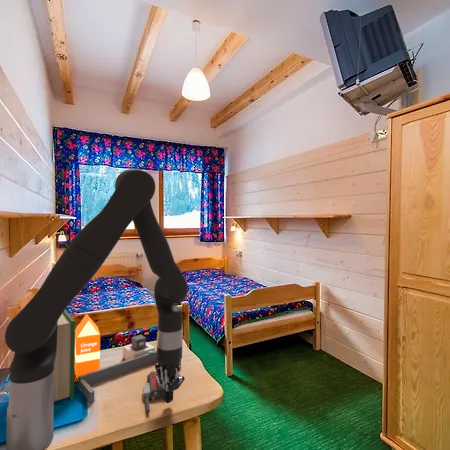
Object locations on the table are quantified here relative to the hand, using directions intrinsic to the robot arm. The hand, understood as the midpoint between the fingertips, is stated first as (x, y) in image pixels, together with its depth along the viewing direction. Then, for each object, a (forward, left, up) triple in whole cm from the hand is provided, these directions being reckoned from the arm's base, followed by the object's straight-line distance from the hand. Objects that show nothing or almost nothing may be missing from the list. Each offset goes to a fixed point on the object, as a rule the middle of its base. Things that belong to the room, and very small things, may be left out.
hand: (168, 401), depth 88 cm
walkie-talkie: (+1, +8, -2) cm, 8 cm away
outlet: (+8, +33, -2) cm, 34 cm away
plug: (+8, +33, -1) cm, 34 cm away
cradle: (0, +23, -2) cm, 23 cm away
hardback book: (-22, +31, -2) cm, 39 cm away
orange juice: (-11, +36, -2) cm, 38 cm away
